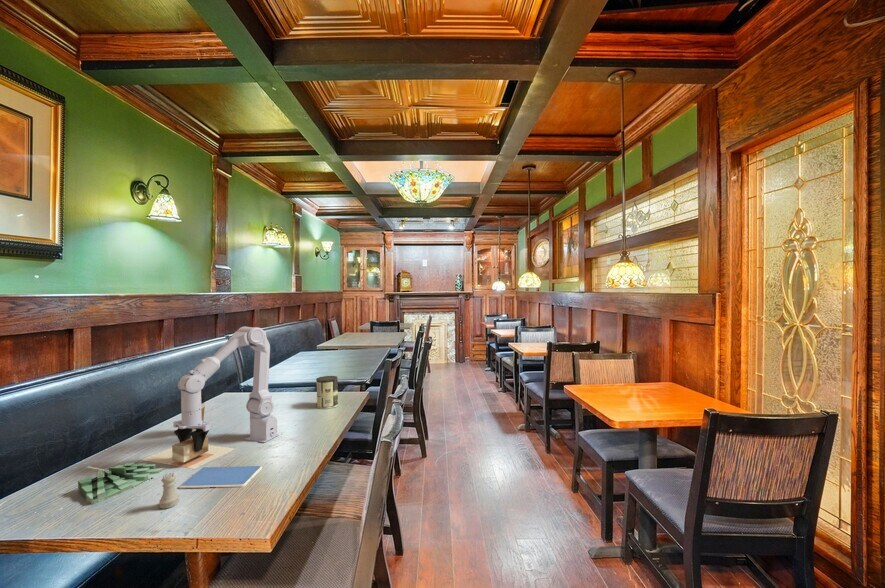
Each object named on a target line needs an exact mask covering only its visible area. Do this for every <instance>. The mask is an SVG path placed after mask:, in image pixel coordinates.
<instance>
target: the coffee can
mask: <svg viewBox="0 0 885 588" xmlns="http://www.w3.org/2000/svg"><path fill="white" fill-rule="evenodd" d="M315 379H316V408H317V409H320V410H329V409H333V408H336V407H338V406H339V399H338V398H339V395H338V394H339V393H338V390H339V389H338V376H336V375H324V376H323V375H322V376H320V377H317V378H315Z"/></svg>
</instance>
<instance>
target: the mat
mask: <svg viewBox="0 0 885 588" xmlns="http://www.w3.org/2000/svg"><path fill="white" fill-rule="evenodd" d="M234 450H235V448H232V447H226V446H225V447H224V446H218V445H210V444H208V451H207V452H205V453H203V454H201V455H199V456H197V457H195V458H192V459H190V460H188V461H186V462H178V461H172V447H169V448H167V449H165V450H162V451H160V452H158V453H155V454H153V455H150V456H148V457H144V458H142V459H141V461H145V462H150V463H151V462H152V463H155V464H164V465H169V466H176V467H181V468H188V469H193V470H194V469H197V468H199V467H201V466H203V465H205V464H207V463H210V462H211V461H214V460H215V459H218V458H220V457H222V456H224V455H226V454H228V453H230V452H232V451H234ZM200 465H201V466H200Z"/></svg>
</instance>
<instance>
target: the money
mask: <svg viewBox="0 0 885 588" xmlns="http://www.w3.org/2000/svg"><path fill="white" fill-rule="evenodd" d="M166 469H167V468H166V467H157V463H154V464H153V463H151V464H150V463H149V464H147V463H146V462H145V463H144V462H143V463H136V462H127V463H124V464H120V465H119V464H118V465H115V466H114V467H113V466H111V467H110V466H109V467H108V470H103V472H104V473H103V472H102V469H100V470H98V471H97V473H96V474H97V475H96V477H93V478H92V476H91V475H90V476H88V477H85V478H82V479H79V480H77V487H78V488H77V490H78V491H77V492H78V494H79V495H81V497H83V498H84V499H86V502H88V503H89V504H91V505H92V506H93V505H95V504H99V503H101V502H104V501H106V500H108V498H109V499H111V498H113V496H114V497H116V496H118V495H120V494H124V493H125V492H128V491H130V490H132V489H135V488H137V487H140V486H141V485H143V484H144V483H143V482H145V481H147V480H149V481H151V480H152V479H151V478H155V476H157V475H159V474H160V473H161V472H163V471H164V470H166ZM103 474H104V475H103ZM150 479H151V480H150ZM147 482H148V481H147ZM142 483H143V484H142ZM145 483H146V482H145ZM140 484H141V485H140ZM134 487H135V488H134ZM127 490H128V491H127Z"/></svg>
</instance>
